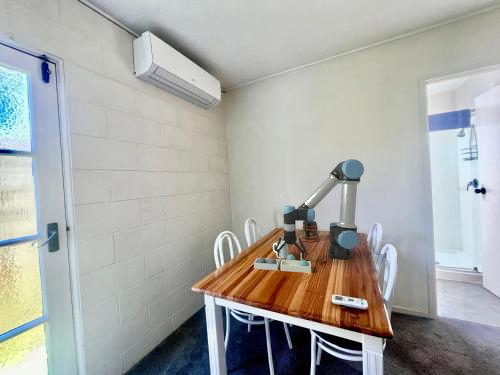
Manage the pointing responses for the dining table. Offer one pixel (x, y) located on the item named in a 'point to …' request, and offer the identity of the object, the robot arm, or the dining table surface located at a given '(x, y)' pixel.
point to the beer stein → (310, 231)
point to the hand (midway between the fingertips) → (290, 262)
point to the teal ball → (290, 257)
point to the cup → (283, 251)
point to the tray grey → (266, 265)
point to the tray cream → (295, 266)
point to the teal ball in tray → (303, 263)
